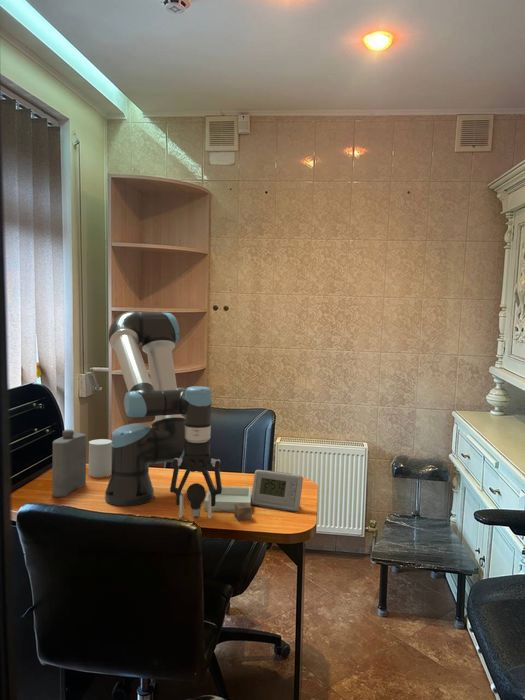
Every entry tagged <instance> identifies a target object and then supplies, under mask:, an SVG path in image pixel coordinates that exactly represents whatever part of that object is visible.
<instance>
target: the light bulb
mask: <svg viewBox="0 0 525 700" xmlns="http://www.w3.org/2000/svg"><path fill="white" fill-rule="evenodd" d="M185 493H186V498H187V501H188V502H189V505H190V509H191V516H192V517H193V518H197V517H198V516H200V514H201V506H202V503H204V501H205V498H206V494H207V492H206V489H205V487H204V485H203V484H201V483H198V482H195V483H192V484H190V485H189V486H188V487H187V489H186V492H185Z"/></svg>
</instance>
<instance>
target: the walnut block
mask: <svg viewBox="0 0 525 700" xmlns="http://www.w3.org/2000/svg"><path fill="white" fill-rule="evenodd" d="M233 513H234V518H235V519H236V521H237V522H238V523H239V522H249V521H252V518H253V517H252V514H253V507H252V506H251V505H249V504H248V503H238V504H235V512H233Z"/></svg>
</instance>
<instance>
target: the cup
mask: <svg viewBox="0 0 525 700" xmlns="http://www.w3.org/2000/svg"><path fill="white" fill-rule="evenodd" d="M111 443H112V439H106V438H99V439H92V440H89V441H88V474H89V475H90V476H89V475H88V476H89V477H91V476H94V477H93V478H104V477H103V476H106V477H108V476H107V475H109V474H111V459H112V446H111ZM109 476H110V475H109Z"/></svg>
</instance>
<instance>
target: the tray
mask: <svg viewBox="0 0 525 700" xmlns="http://www.w3.org/2000/svg"><path fill="white" fill-rule="evenodd" d="M214 487H215V489H217V486H214ZM209 493H210V491H209V488H208V489H207V492H206V495H205V498H204V500H203V503H204V504H203V505H204V506H203V507H204V508H203V511H204V512H208V500H209ZM251 495H252V487H249V486H247V487H244V486H238V487H237V486H222V492H221V494H217V495H216V503H215V506H212V512H228V513H229V512H233V513H234V512H235V504H238V503H248V504H249V505H250V506H251V505H252V504H251Z"/></svg>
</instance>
